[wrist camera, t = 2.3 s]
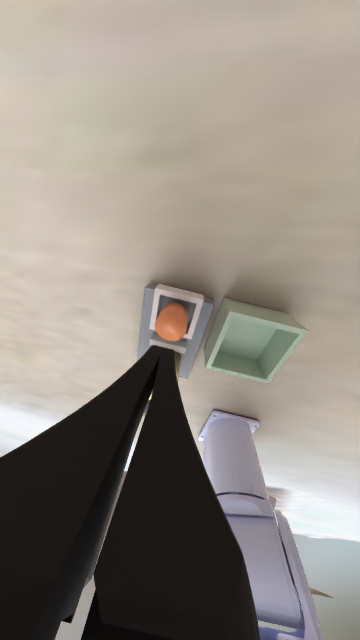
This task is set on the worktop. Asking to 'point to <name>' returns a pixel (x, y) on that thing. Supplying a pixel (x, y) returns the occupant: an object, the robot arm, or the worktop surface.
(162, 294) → the grey slab
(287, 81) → the worktop surface
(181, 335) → the orange rounded piece
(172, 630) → the robot arm
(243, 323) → the green open box
